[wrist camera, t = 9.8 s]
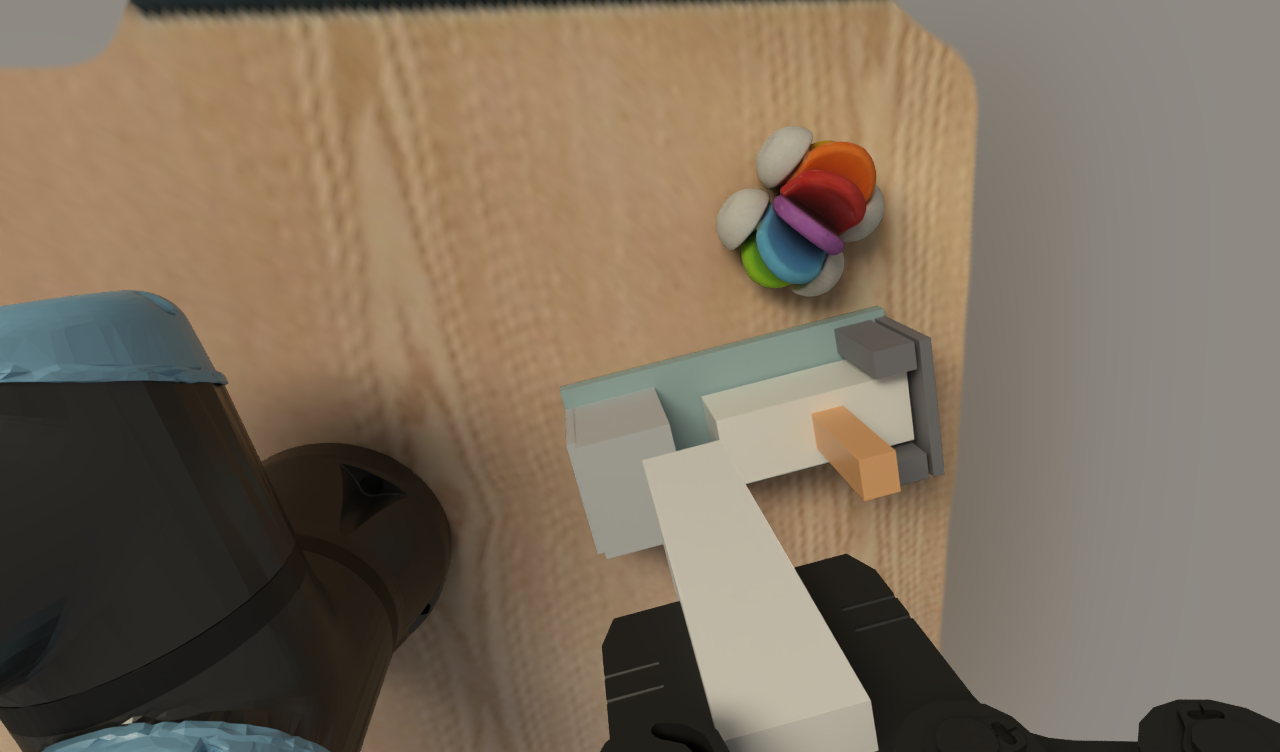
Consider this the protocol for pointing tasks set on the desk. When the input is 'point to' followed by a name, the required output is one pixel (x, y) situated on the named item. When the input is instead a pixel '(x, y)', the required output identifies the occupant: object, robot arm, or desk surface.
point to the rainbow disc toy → (802, 211)
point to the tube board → (675, 420)
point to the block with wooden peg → (816, 425)
